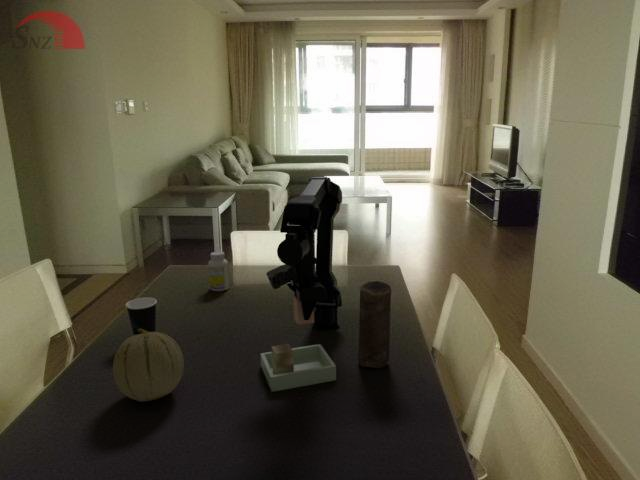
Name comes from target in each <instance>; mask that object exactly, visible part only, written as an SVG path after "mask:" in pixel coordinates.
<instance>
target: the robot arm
mask: <svg viewBox="0 0 640 480" xmlns="http://www.w3.org/2000/svg"><path fill="white" fill-rule="evenodd" d="M342 202H343V192H342V189H341V187H340V185H338V184H337V183H335V182H333V181H332V180H331V178H330V177H327V176H312V177H310V178H309V181H308V184H307V186H306V187H305V188H304V190H303V192H302V193H301V194H300V195H299V196H295V197H292V198H290V200H288V201H287V203H286V204H285V205H284V208H283V212H282V213H283V214H282V219H281V224H280V230H279V231H280V232H279V233H282V234H283V233H285V235H284V237H285V239H283V240H282V241H281V242H280V243H279V245H278V246H277V248H276V249H277V250H276V253H277V257H278V259H279V261H280V262H282V265H279V266H277V267H275V268H273V269H270V270H269V271H267V272H266V277H267V279H268V280H269V283H270V286H271V287H272V288H273V290H277V289H279V288H281V287H282V286H284V285H286V286H287V288H289V289H290V290H291V291H293V295H295V297H296V298H297V299H299V301H300V302H301V307H302V312H303V317H304V320H309V318H310V316H311V314H312V312H313V310H314V323H311V324H312V325H313V327H315V329H316V330H317V331H324V330H331V329H332V330H333V329H337V328H338V329H339V328H340V324H339V323H338V309H339V308H340V307H343V299H342V294H341V291H340V288H339V287H338V280H337V278H336V276H335V274H334V272H333V250H334V249H333V248H334V243H333V242H334V224H335V221H334V219H335V218H336V216H337V215H338V213H339V211H340V210H341V209H340V208H341V204H343V203H342ZM315 233H316V235H315ZM315 239H316V241H315Z"/></svg>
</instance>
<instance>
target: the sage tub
mask: <svg viewBox="0 0 640 480" xmlns="http://www.w3.org/2000/svg"><path fill="white" fill-rule="evenodd" d="M291 348H292V347H291ZM292 350H293V360H294V372H289V373H283V374H277V375H275V373H274V371H273V360H272V351H268V352H262V353H260V367H261V370H262V372H263V374H264V377H265V379H266V381H267V384H268V386H269V389H270V392H271V393H272V392H278V391H283V390H289V389H290V390H291V389H294V388H300V387H307V386H311V385H316V384H321V383H322V384H323V383H327V382H333V381H337V366H336V364H335V362H333V360H332V358H331V357H330V355H329V354H328V353H327V351H326V350H325V348H324V347H323V345H322V344H320V343H318V344H311V345H306V346H304V345H303V346H298V347H293V348H292Z"/></svg>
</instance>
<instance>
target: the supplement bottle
mask: <svg viewBox="0 0 640 480" xmlns="http://www.w3.org/2000/svg"><path fill="white" fill-rule="evenodd" d="M209 256H210V258H211V260H209V261H208V274H209V286H210V290H211V291H212V292H224V290H225V291H227V290H228V289H229V288H230V287H231V285H230V284H231V283H230V273H229V272H230V271H229V270H230V269H229V262H228V260H227V259H226V258H225V252H224V251H212V252H211V253H210V255H209Z"/></svg>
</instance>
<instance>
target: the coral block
mask: <svg viewBox="0 0 640 480" xmlns="http://www.w3.org/2000/svg"><path fill="white" fill-rule="evenodd" d="M292 298H293V319H294V322H296V324H297V325H306V324H312V323H314V310H313V312H312V314H311V316H310V318H309V320H304V317H303V312H302V307H301V302H300V301H299V299H297V298H296V297H295V295H294V294H293V297H292Z"/></svg>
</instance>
